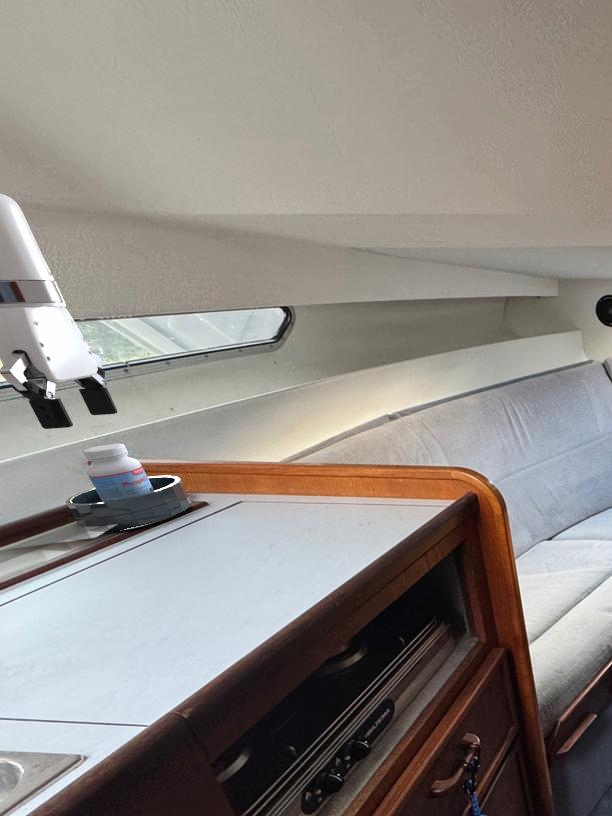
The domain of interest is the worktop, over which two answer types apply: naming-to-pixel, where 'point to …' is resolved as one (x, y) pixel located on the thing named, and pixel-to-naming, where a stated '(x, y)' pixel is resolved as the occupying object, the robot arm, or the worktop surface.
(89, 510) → the bowl
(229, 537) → the worktop surface
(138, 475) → the pill bottle
